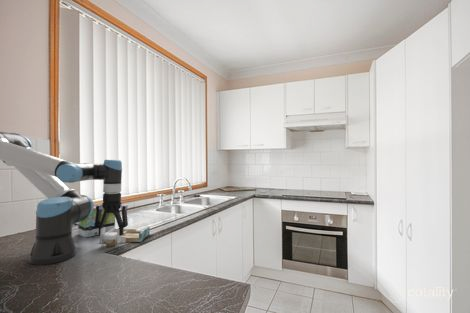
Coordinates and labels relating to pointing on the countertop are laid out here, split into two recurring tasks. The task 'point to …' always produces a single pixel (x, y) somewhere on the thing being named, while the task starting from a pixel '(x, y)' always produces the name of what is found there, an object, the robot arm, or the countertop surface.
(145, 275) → the countertop surface
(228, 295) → the countertop surface
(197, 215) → the countertop surface
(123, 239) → the dock
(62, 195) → the robot arm
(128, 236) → the tray
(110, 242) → the stand
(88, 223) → the tea box
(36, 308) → the countertop surface
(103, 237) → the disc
